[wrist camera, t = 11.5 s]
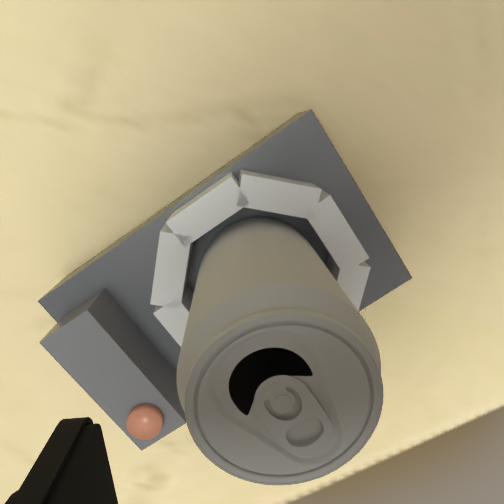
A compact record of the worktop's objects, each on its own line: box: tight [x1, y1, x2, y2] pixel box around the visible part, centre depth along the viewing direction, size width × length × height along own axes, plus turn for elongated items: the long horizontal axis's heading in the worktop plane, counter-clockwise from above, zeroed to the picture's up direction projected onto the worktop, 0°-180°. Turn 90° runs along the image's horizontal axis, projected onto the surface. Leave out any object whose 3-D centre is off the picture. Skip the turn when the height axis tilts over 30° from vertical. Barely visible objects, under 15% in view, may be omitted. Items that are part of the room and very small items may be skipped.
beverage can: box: [177, 217, 383, 485], centre depth 17 cm, size 6×6×12 cm
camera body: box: [38, 109, 412, 450], centre depth 23 cm, size 18×11×8 cm, turn 124°
